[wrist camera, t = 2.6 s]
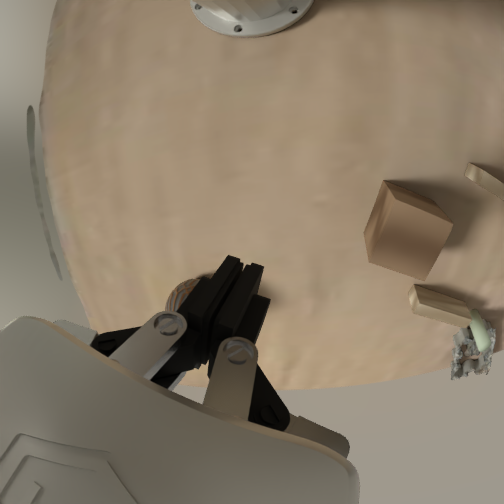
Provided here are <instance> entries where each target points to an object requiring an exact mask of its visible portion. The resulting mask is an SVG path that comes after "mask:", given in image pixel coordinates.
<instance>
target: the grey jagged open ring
mask: <svg viewBox="0 0 504 504" xmlns="http://www.w3.org/2000/svg"><path fill="white" fill-rule="evenodd" d="M482 321H483V323H484V326H485V328H486V331H487V333H488V335H489V338H490V340H491V346H490V347H489V348H488V349H487V350H485V351H483V352H482V355H481V356H480V357H479V358H478V359H476V360H473V359H468V360H466V361H465V362H464V363H463V364H460V361H459V359H461V358H462V357H463V352H462V349H461V346H462V345H463V344H466V346H467V350H466V351H465V352H464V356H470V355H471V356H472V355H479V353H480V351H479V350H478V347H477V344H476V341H475V339H474V336H473V333H472V330H471V329H468V328H460V331H459V332H458V333H457V334H455V335H454V336H453V341H454V345H455V348H454V349H452V355H453V359H454V361H452V362H451V368H452V371H451V380H454V379H460V377H462V376H465V377H467V376H468V373H469V372H471V371H474V372H475V374H477V375H478V374H482V373H486V374H488V371H489V370H490V366H491V357H492V354H493V349H494V344H495V330H496V327H495V329H492V327H491V325H490V322H486V321H485V319H483V320H482Z"/></svg>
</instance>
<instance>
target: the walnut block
mask: <svg viewBox="0 0 504 504" xmlns="http://www.w3.org/2000/svg"><path fill="white" fill-rule="evenodd" d="M453 225H454V224H453V223H452V222H451V220H450V219H449V218H448V217H447V216H446V215H445V213H444V212H443V211H442V210H441V209H440V208H439V207H438V206H437V204H436V203H435V202H434V201H432V200H430V199H428V198H426V197H423V196H421V195H419V194H416V193H414V192H412V191H409V190H407V189H404V188H402V187H400V186H397V185H394V184H392V183H389V182H387V181H384V180H383V182H382V185H381V188H380V191H379V194H378V196H377V199H376V202H375V205H374V207H373V210H372V213H371V215H370V218H369V221H368V223H367V226H366V228H365V231H364V237H365V242H366V248H367V254H368V260H369V262H370V263H373V264H376V265H379V266H382V267H385V268H387V269H390V270H393V271H396V272H399V273H402V274H405V275H408V276H411V277H414V278H417V279H420V280H422V281H425V279H426V277H427V276H428V274H429V272H430V270H431V269H432V267H433V265H434V263H435V261H436V260H437V258H438V256H439V254H440V252H441V250H442V248H443V246H444V244H445V242H446V240H447V238H448V236H449V234H450V232H451V230H452V228H453Z"/></svg>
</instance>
